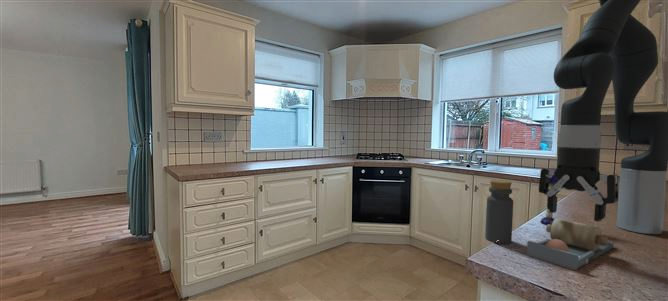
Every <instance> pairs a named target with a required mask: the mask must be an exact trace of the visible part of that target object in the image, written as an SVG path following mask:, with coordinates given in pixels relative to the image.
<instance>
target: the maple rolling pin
mask: <svg viewBox="0 0 668 301" xmlns="http://www.w3.org/2000/svg"><path fill="white" fill-rule="evenodd" d="M554 219H555V220H554V221H553V223H552V225H551V224H548V225H546V228H545V230H546V233H549V235H550V240H552V239H558V240H561V241H563V242H564V243H565V244H566V245H570V246H574V247H577V248H581V249H585V250H589V251H590V250H592V251H594V252H595V251H597V250H598V249H599V247H600V245H602V246H607V243H608V242H609V240H608V239H609V238H608V237H607V236H603V235H602V229H601V227H600V226H598V227H596V226H597V225H595V226H591V225H592V224H590V225H587V224H588V223H585V224H582V223H583V222H582V223H581V222H576V221H572V220H567V219H562V218H558V217H557V218H554Z"/></svg>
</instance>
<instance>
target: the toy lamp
mask: <svg viewBox="0 0 668 301" xmlns="http://www.w3.org/2000/svg"><path fill="white" fill-rule="evenodd" d="M548 168H549V167H548ZM549 169H552V170H556V168H553V167H552V168H551V167H550V168H549ZM558 181H559V180H558V179H557V178H556V176H555V175H554V174H553V176H552V177H551V178H550V181H549V189H551V188H552V187H553V186H554V185H555V184H556V183H557V182H558ZM547 200H548V198H547V199H546V201H547ZM553 216H554V213H551V212H550V210H549V209H548V208H547V207H546V213H545V217H542V218H541V219H540V223H541V224H542V225H546V226H547V225H548V224H551V225H552V223H553V221H554V220H555V219H556V218H553Z"/></svg>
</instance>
